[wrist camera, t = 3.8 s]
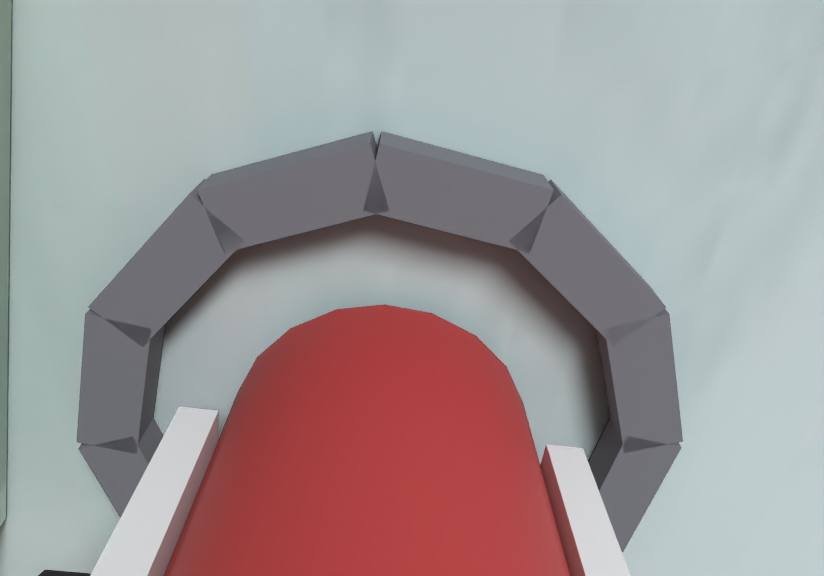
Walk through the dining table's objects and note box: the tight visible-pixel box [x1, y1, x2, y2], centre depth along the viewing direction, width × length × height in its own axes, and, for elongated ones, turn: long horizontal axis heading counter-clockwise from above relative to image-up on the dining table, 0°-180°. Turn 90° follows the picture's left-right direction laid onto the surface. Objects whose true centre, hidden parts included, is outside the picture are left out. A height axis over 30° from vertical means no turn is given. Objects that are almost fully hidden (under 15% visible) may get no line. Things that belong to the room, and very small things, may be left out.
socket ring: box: [77, 131, 683, 552], centre depth 15 cm, size 13×13×1 cm
